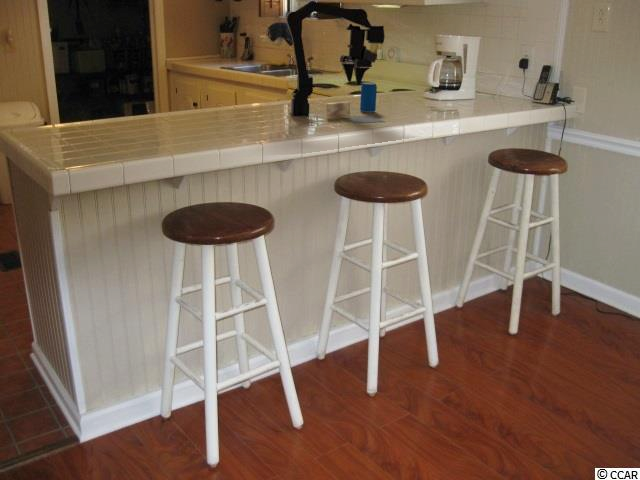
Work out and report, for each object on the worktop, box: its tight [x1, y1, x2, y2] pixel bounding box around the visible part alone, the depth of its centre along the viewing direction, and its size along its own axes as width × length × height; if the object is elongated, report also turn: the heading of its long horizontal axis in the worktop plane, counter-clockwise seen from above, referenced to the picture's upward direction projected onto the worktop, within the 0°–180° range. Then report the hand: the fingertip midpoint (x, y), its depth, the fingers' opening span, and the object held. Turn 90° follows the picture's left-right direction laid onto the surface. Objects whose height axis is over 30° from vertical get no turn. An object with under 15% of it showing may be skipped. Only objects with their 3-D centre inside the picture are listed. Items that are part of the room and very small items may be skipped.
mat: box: [344, 114, 386, 124], centre depth 249 cm, size 13×14×1 cm
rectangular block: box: [326, 101, 351, 120], centre depth 249 cm, size 9×2×6 cm, turn 108°
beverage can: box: [359, 81, 378, 114], centre depth 265 cm, size 6×6×12 cm
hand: (353, 83), depth 253 cm, fingers open, 9 cm apart
